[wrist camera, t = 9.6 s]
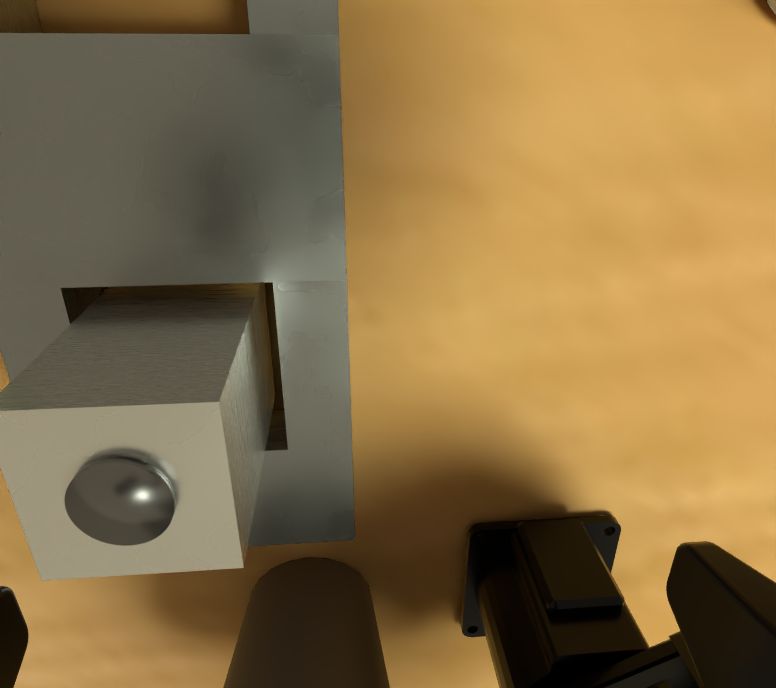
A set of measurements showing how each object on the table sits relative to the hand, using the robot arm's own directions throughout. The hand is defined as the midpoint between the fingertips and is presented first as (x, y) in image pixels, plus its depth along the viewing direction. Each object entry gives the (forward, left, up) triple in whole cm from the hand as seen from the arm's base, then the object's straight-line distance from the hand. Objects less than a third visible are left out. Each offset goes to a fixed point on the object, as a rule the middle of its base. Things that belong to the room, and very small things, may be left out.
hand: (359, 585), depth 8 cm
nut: (-2, +5, -13) cm, 14 cm away
